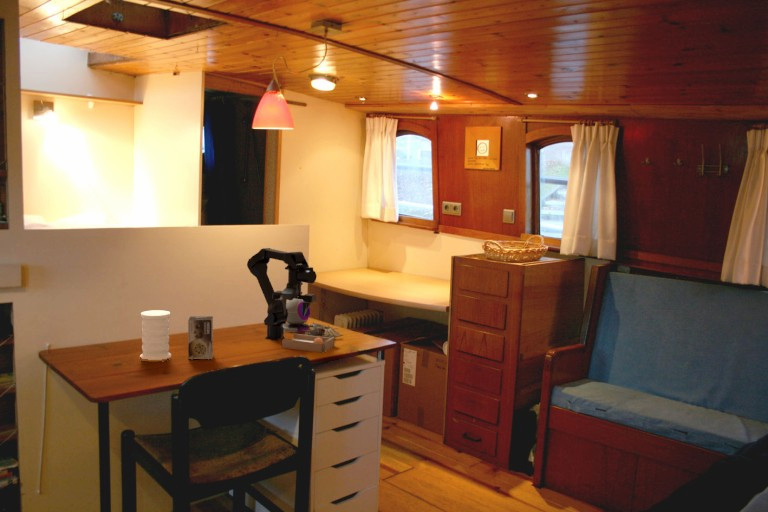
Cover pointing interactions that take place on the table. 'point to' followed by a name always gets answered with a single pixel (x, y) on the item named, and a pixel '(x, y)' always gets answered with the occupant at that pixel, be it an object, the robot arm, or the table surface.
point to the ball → (318, 340)
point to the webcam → (296, 316)
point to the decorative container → (155, 335)
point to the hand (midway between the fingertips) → (293, 315)
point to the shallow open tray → (308, 343)
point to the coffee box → (200, 337)
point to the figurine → (322, 331)
